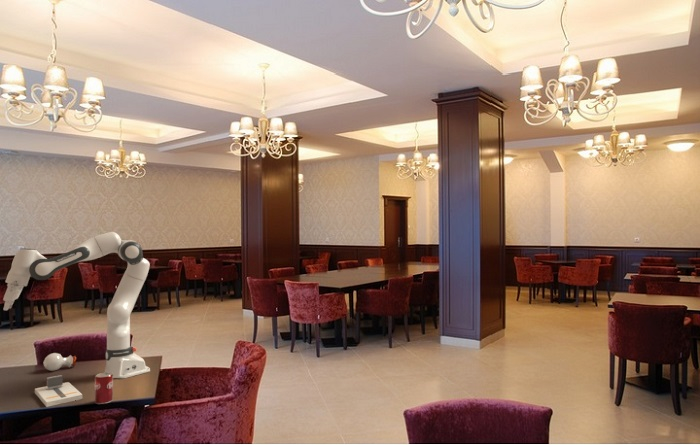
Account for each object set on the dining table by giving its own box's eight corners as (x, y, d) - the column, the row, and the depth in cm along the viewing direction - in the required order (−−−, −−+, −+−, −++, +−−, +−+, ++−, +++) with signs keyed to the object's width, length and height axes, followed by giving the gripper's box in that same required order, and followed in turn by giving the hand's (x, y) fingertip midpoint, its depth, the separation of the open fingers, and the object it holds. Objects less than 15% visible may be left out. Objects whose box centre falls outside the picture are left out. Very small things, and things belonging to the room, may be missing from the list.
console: (68, 386, 233) (68, 381, 233) (82, 398, 214) (82, 394, 215) (34, 392, 223) (34, 388, 223) (46, 407, 205) (46, 402, 205)
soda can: (93, 405, 206) (94, 378, 206) (95, 400, 213) (95, 373, 213) (112, 403, 209) (112, 375, 209) (113, 397, 216) (113, 371, 216)
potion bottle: (41, 374, 257) (72, 372, 266) (44, 366, 251) (76, 365, 261) (42, 358, 262) (72, 356, 271) (45, 350, 256) (76, 349, 265)
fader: (60, 384, 227) (60, 374, 227) (62, 386, 224) (62, 376, 225) (46, 387, 223) (46, 377, 223) (48, 389, 220) (48, 379, 220)
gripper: (21, 283, 219) (11, 312, 217) (27, 281, 237) (17, 308, 235) (5, 280, 217) (-5, 310, 214) (12, 278, 235) (2, 306, 232)
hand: (7, 309), depth 224 cm, fingers open, 8 cm apart
